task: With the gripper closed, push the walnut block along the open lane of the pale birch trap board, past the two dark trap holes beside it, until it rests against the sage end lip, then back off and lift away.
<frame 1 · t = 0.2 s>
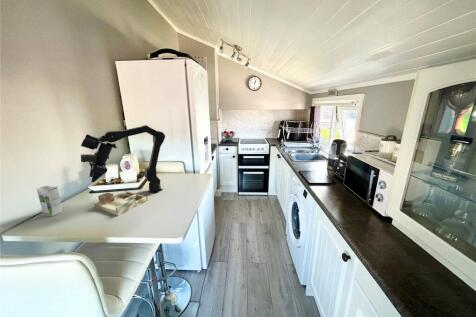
hand: (91, 179, 103), 15 cm above the worktop, tool tilted 30°, fingers open, 9 cm apart
syrup box: (53, 213, 98), on the worktop
walnut block: (107, 201, 105), point 2 cm above the worktop, touching trap board
trap board: (122, 204, 107), on the worktop
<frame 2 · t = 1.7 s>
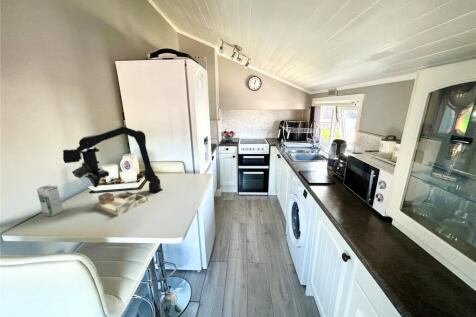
hand: (96, 187, 106), 10 cm above the worktop, tool pointing down, fingers closed
nothing on the worktop moved.
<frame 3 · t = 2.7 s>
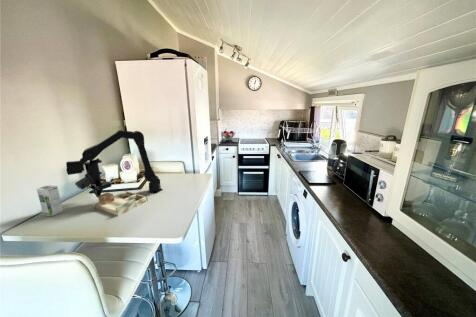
hand: (98, 197, 108), 3 cm above the worktop, tool pointing down, fingers closed
nothing on the worktop moved.
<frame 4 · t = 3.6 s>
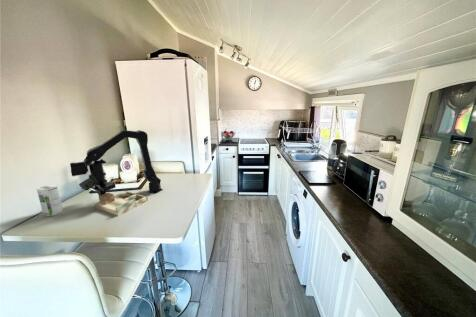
hand: (102, 198, 106), 3 cm above the worktop, tool pointing down, fingers closed
walnut block: (107, 201, 105), point 3 cm above the worktop, touching gripper, trap board
everything else where it was.
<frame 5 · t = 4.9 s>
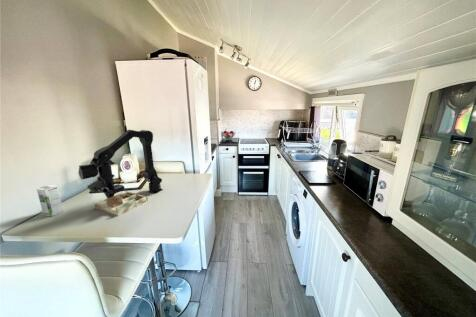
hand: (110, 201, 103), 4 cm above the worktop, tool pointing down, fingers closed
walnut block: (115, 204, 102), point 3 cm above the worktop, touching gripper
everything else where it was.
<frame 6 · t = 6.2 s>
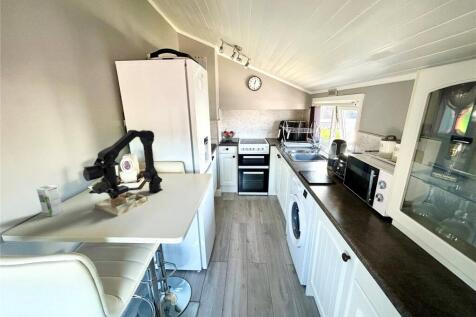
hand: (114, 202, 102), 4 cm above the worktop, tool pointing down, fingers closed
walnut block: (119, 206, 100), point 2 cm above the worktop, touching gripper, trap board
everything else where it was.
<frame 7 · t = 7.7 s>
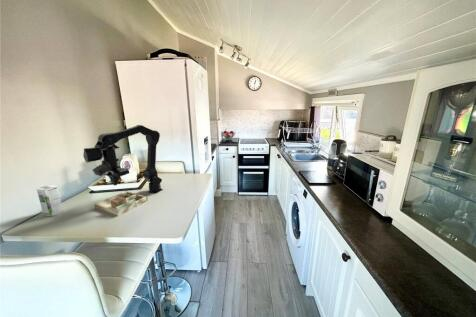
hand: (115, 185, 104), 12 cm above the worktop, tool pointing down, fingers closed
walnut block: (119, 206, 100), point 2 cm above the worktop, touching trap board
everything else where it was.
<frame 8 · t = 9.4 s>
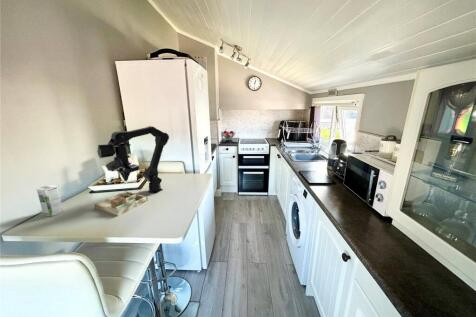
hand: (125, 181, 109), 12 cm above the worktop, tool pointing down, fingers closed
nothing on the worktop moved.
at the end: walnut block inside the target area on the trap board (0.5 cm from its centre), point 2.5 cm above the trap board's base; walnut block tilted 0°; walnut block moved 11.2 cm from its start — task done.
